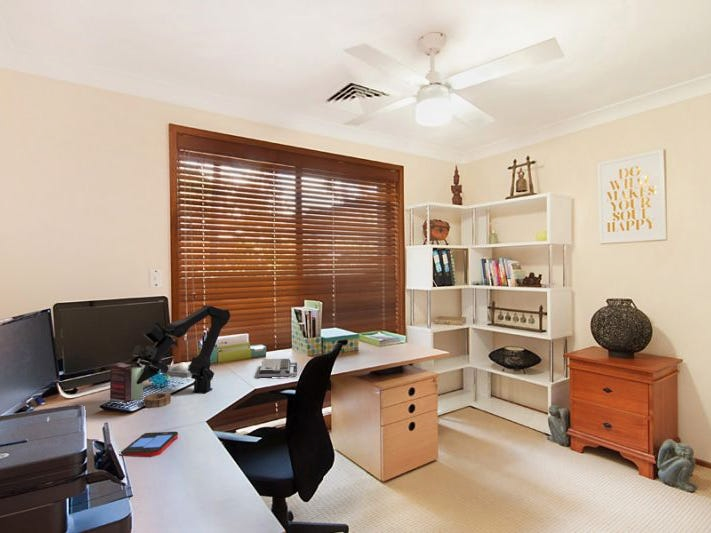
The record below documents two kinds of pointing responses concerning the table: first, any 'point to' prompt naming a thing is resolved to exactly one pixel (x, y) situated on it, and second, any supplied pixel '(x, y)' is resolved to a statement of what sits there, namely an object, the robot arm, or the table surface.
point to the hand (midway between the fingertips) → (133, 382)
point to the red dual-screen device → (150, 444)
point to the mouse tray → (175, 372)
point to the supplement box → (120, 382)
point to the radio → (276, 368)
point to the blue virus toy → (159, 379)
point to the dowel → (136, 388)
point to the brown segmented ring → (157, 399)
